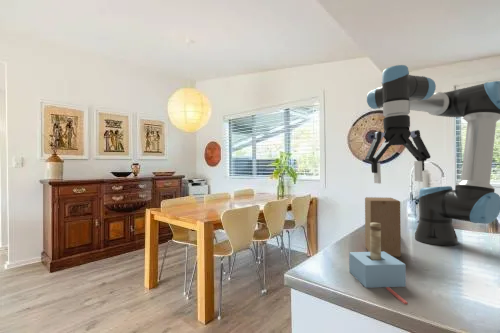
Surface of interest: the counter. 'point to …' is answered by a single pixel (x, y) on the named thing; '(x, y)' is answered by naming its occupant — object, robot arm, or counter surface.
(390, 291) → the thin red rod
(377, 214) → the wooden block
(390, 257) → the blue block with hole
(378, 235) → the tan brown rod
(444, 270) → the counter surface
